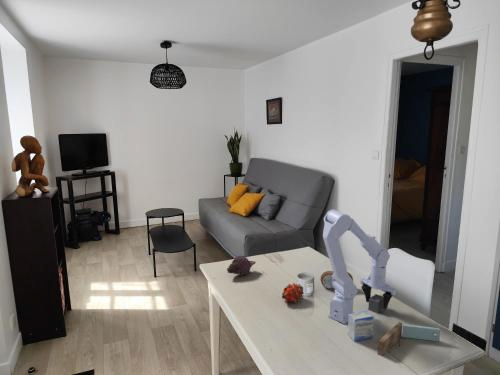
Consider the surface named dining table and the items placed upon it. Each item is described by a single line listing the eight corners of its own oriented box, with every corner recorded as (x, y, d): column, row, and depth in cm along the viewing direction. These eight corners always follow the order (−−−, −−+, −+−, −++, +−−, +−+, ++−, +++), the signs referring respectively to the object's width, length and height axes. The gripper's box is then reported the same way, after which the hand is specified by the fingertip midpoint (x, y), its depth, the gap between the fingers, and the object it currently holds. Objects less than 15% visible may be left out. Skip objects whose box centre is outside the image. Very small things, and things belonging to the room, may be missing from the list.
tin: (352, 287, 164) (352, 270, 163) (353, 290, 161) (354, 273, 159) (320, 286, 166) (320, 270, 164) (320, 289, 162) (321, 272, 161)
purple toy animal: (232, 282, 171) (232, 263, 169) (221, 276, 179) (220, 258, 177) (259, 272, 182) (259, 254, 180) (248, 266, 190) (247, 249, 188)
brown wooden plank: (382, 356, 115) (382, 342, 114) (377, 354, 117) (378, 340, 116) (402, 336, 126) (403, 323, 125) (397, 334, 127) (398, 321, 126)
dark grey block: (377, 313, 141) (377, 302, 140) (368, 310, 144) (368, 299, 143) (384, 308, 145) (384, 297, 144) (375, 304, 148) (375, 294, 147)
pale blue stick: (403, 338, 124) (404, 327, 123) (402, 335, 126) (403, 324, 125) (440, 343, 121) (441, 331, 120) (438, 339, 123) (439, 328, 122)
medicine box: (353, 342, 123) (354, 320, 122) (347, 334, 128) (348, 313, 126) (373, 338, 125) (374, 316, 124) (365, 331, 130) (366, 310, 128)
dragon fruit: (305, 300, 156) (284, 312, 150) (293, 285, 160) (273, 295, 154) (311, 291, 150) (290, 303, 144) (299, 275, 154) (278, 286, 148)
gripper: (399, 276, 139) (398, 307, 142) (366, 266, 150) (365, 295, 152) (391, 282, 135) (390, 314, 137) (358, 271, 145) (357, 301, 148)
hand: (376, 304), depth 144 cm, fingers open, 7 cm apart
